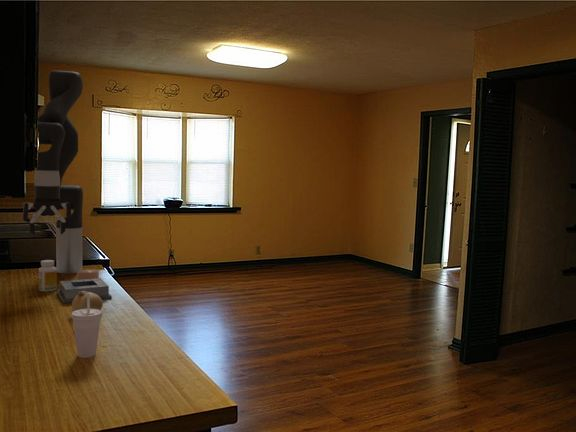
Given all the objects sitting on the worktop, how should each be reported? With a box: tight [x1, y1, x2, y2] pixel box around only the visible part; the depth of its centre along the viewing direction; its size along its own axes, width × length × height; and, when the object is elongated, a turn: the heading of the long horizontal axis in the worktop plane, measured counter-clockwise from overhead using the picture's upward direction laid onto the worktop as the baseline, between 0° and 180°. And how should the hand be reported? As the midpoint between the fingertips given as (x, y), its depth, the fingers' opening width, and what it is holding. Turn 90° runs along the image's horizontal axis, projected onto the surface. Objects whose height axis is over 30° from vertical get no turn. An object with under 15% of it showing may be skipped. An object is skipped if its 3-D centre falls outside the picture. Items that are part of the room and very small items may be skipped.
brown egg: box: [76, 268, 100, 280], centre depth 182 cm, size 7×7×5 cm
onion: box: [71, 291, 104, 312], centre depth 146 cm, size 8×8×7 cm
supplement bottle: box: [38, 259, 58, 292], centre depth 173 cm, size 5×5×10 cm
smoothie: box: [71, 293, 103, 359], centre depth 116 cm, size 6×6×14 cm
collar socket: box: [56, 277, 113, 305], centre depth 167 cm, size 14×14×4 cm
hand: (47, 234), depth 172 cm, fingers open, 8 cm apart
